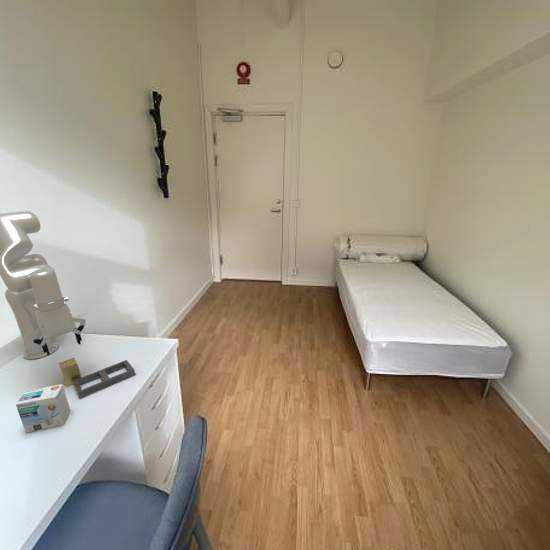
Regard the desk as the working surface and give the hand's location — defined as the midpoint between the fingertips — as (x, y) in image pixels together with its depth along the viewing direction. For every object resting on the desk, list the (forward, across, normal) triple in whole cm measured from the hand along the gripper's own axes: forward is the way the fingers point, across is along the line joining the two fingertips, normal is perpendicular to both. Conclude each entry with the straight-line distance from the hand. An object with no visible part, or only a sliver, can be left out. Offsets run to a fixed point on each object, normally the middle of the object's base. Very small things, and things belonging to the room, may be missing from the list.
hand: (64, 348), depth 115 cm
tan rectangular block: (+14, 0, -1) cm, 14 cm away
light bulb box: (+15, +10, +17) cm, 25 cm away
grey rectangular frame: (+14, -9, +8) cm, 19 cm away
